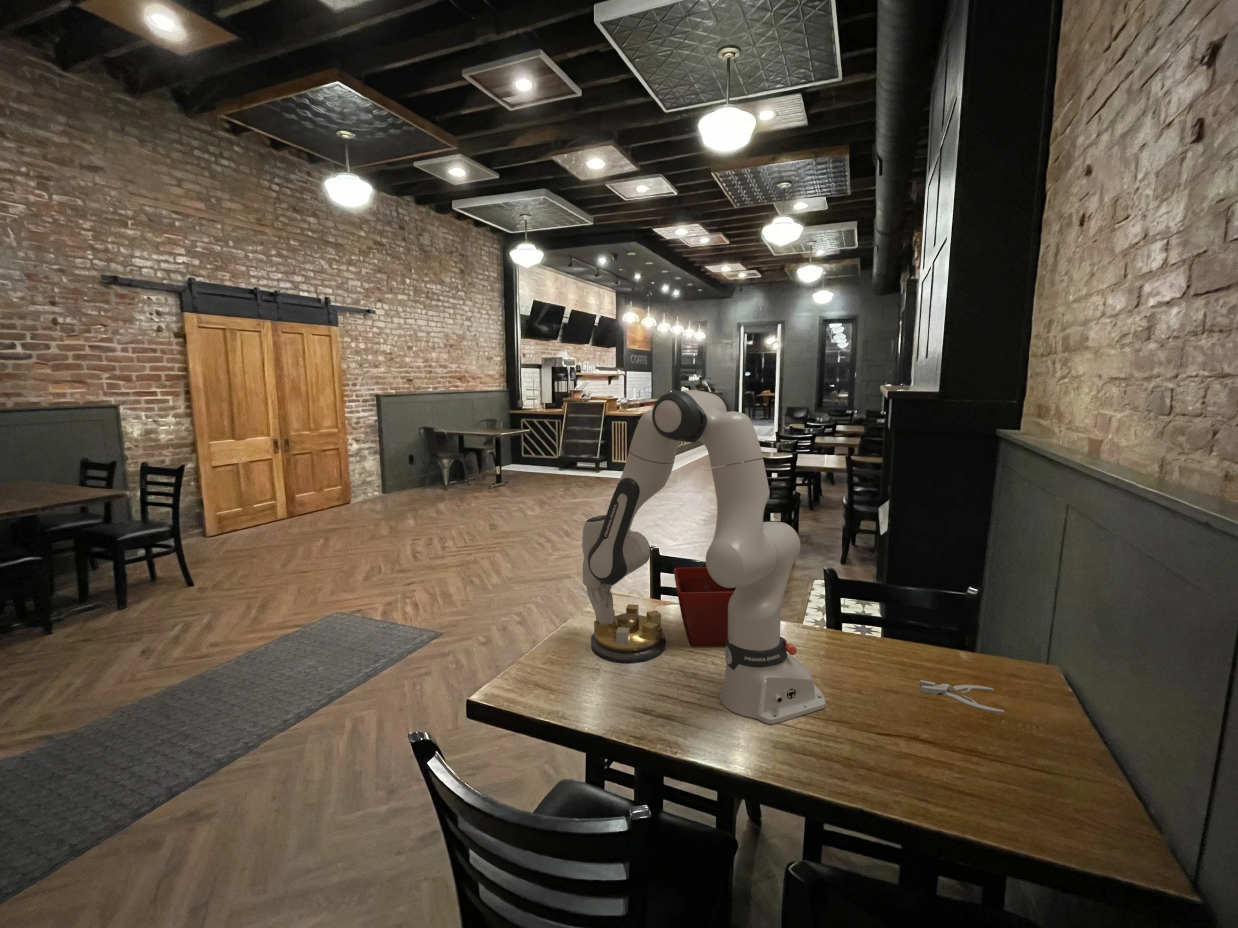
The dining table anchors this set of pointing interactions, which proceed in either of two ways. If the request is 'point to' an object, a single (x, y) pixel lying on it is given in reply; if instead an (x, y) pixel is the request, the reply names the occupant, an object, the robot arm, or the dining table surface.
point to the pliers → (942, 688)
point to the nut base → (628, 656)
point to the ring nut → (630, 631)
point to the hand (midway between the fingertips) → (600, 625)
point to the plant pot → (703, 606)
